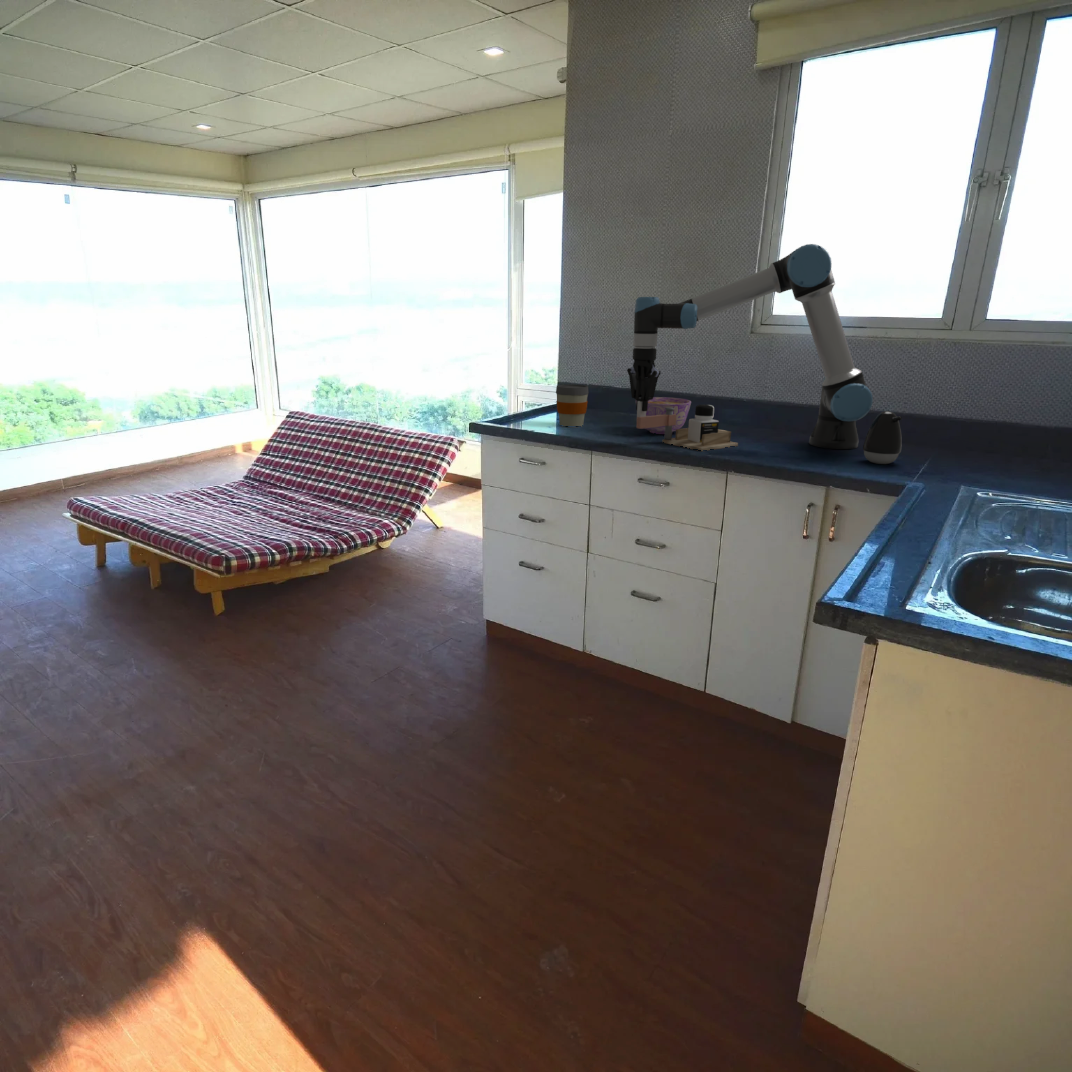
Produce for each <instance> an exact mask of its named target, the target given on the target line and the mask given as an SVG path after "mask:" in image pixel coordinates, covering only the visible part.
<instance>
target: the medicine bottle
mask: <svg viewBox="0 0 1072 1072" xmlns="http://www.w3.org/2000/svg"><path fill="white" fill-rule="evenodd" d="M694 409H695V411H694V418H689V420H688V427H687V428H688V440H690V441H694V442H697V443H702V435H704V434H712V433H718V429H719V424H720V423H719V422H720V421H719V420H717V419H713V418H714V414H715V407H714V405H712V404H697V405H696V406H695V408H694Z"/></svg>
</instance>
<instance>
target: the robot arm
mask: <svg viewBox="0 0 1072 1072" xmlns="http://www.w3.org/2000/svg"><path fill="white" fill-rule="evenodd" d="M835 285H836V281H835V278H834V275H833V271H832V257H831V256H830V253H829V252H828V251H827V249H826V248H825V247H823V246H821V245H818V244H815V243H809V244H808V243H807V244H804V245H801V246H800V247H797V248H796V249H795V250H793V251H791V253H789V254H788V255H786V256H784V257H783V258H780V259H779V260H776V261H774V262H772V263H770V265H769V266H768V268H765V269H763V270H760V271H758V272H755V273H753V274H750V275H747V276H745V277H743V278H739V279H737V280H735V281H733V282H729V283H727V284H724V285H722V286H719V287H717V288H714V289H712V290H709V291H707V292H704V293H702V294H698V295H697V296H694V297H692V298H690V299H686V300H684V301H681V302H678V303H662V302H660V298H659V297H658V296H640V297H639V296H638V297H637V298H636V299H635V305H634V306H635V307H634V315H633V316H634V318H633V319H634V320H633V322H634V323H633V341H632V346H633V347H634V348H633V349H632V360H634V361H633V363H632V366H631V367H630V368H627V369H626V371H627V374H628V377H629V379H628V380H629V385H630V387H629V388H630V393H631V398H632V399H635V410H636V418H637V417H644V416H646V411H647V409H648V401H649V400H652V399H653V397H655V393H656V387H657V384H658V379H659V377H660V375H661V373H662V371H661V370H658V369H657V367H656V364H655V360H657V348H656V347H657V345H658V330H659V329H675V330H676V329H683V330H687V329H689V330H690V329H695V328H696V327H697V323H698V321H702V320H703V319H706V318H710V317H712V316H714V315H717V314H719V313H722V312H725V311H727V310H731V309H733V308H737V307H738V306H741V305H743V304H746V303H748V302H751V301H754V300H756V299H760V298H762V297H764V296H767V295H770V294H772V293H777V294H782V293H784V292H786V291H790V290H791V291H792V294H793V298H794V300H795V301H798V302H800V303H801V304H802V308H803V310H804V315H805V317H806V320H807V324H808V326H809V330H810V332H811V333H810V334H811V336H812V339H813V343H814V346H815V349H816V352H817V355H818V358H819V362H820V364H821V368H822V371H823V374H824V377H823V380H822V383H821V392H820V393H821V395H820V401H819V408H818V409H819V410H818V416H817V421H816V423H815V426H814V428H813V429H812V431H811V434H810V436H809V441H808V443H809V445H811V446H814V447H817V448H824V449H833V450H850V449H851V450H852V449H857V448H858V447H859V441H860V440H859V435H858V431H857V430H858V429H857V426H856V425H857V424H856V422H857V421H858V420H861V419H863V418H864V417H865V416H867V415H868V413H869V412H870V411H871V409H872V407H873V402H874V400H873V398H874V397H873V393H872V391H871V389H870V388H869V387H868V386H867V384H866V381H865V377H864V374H863V371H862V370H861V369H859V368H857V367H856V366H855V364H854V361H853V356H852V353H851V350H850V348H849V344H848V341H847V337H846V334H845V330H844V327H843V325H842V321H841V318H840V314H839V311H838V308H837V305H836V301H835V298H834V295H833V291H832V290H833V289H834V286H835Z"/></svg>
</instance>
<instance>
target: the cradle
mask: <svg viewBox="0 0 1072 1072" xmlns="http://www.w3.org/2000/svg"><path fill="white" fill-rule="evenodd" d="M731 437H732V431H729V430H724V429H719V428H718V433H712V434H704V435H702V443H697V442H694V441H690V440H688V427H685V428H683V427H682V428H680V429H676V431H675V437H672V439H670V440H667V439H663V438H662V443H663V442H664V443H663V444H668V445H671V444H673V445H672V446H676V447H680V446H683V447H682V448H685V447H687V448H686V449H689V448H690V450H693V449H698V450H701V451H700V452H704V451H703V450H707V451H711V450H710V449H714V450H720V449H726V448H725V447H728V448H731V447H730V446H735V447H739V442H734V441H731ZM698 450H697V451H698Z"/></svg>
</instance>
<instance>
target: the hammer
mask: <svg viewBox="0 0 1072 1072" xmlns="http://www.w3.org/2000/svg"><path fill="white" fill-rule="evenodd" d="M673 410H674V408H666V414H663V415H654V416H644V417H637V416H636V429H641V430H642V429H645V428H651V427H659V426H665V434H664V437H663V438H664V439H667V440H670V439H672V438H673V437H672V436H673V433H672V425H676V414H673Z"/></svg>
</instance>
